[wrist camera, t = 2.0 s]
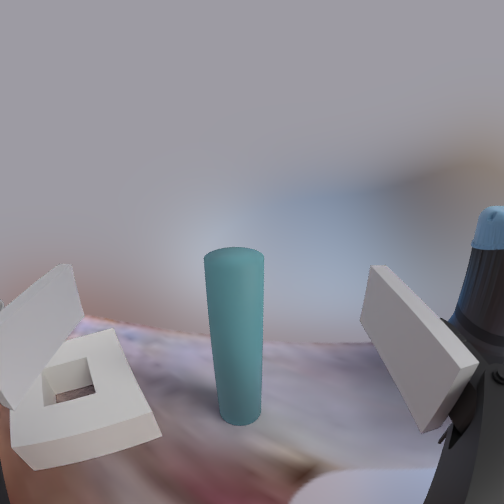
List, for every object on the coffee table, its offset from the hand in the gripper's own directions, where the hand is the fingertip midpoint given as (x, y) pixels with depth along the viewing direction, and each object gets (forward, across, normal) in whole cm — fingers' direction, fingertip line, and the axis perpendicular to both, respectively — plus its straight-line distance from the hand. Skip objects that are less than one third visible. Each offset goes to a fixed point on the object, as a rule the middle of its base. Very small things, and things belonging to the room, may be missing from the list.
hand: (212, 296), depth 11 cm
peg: (+10, +1, -20) cm, 23 cm away
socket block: (+8, -18, -20) cm, 29 cm away
